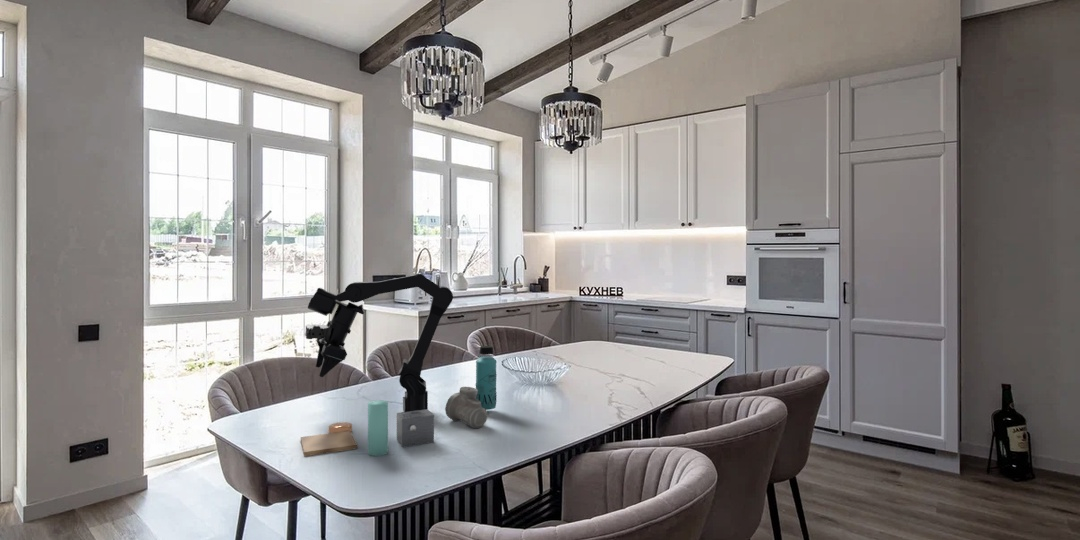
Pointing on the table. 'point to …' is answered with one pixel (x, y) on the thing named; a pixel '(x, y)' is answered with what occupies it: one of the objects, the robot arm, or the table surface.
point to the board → (328, 443)
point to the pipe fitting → (466, 408)
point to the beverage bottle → (486, 379)
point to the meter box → (415, 428)
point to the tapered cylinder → (377, 428)
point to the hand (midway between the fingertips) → (318, 371)
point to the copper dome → (340, 427)
